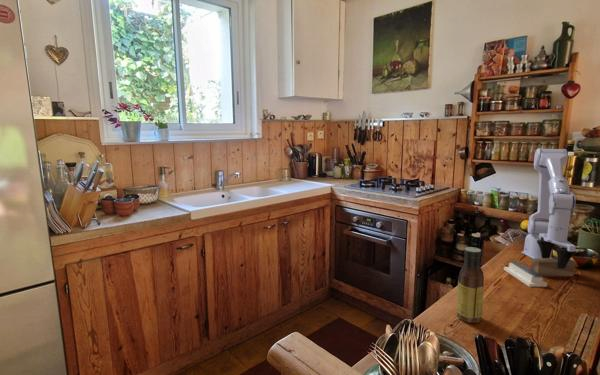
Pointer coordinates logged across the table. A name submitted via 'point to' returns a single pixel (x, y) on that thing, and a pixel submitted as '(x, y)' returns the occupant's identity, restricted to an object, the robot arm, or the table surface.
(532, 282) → the ridge stand
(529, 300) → the table surface
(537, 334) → the table surface
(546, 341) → the table surface
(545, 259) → the walnut batten
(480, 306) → the sauce bottle
